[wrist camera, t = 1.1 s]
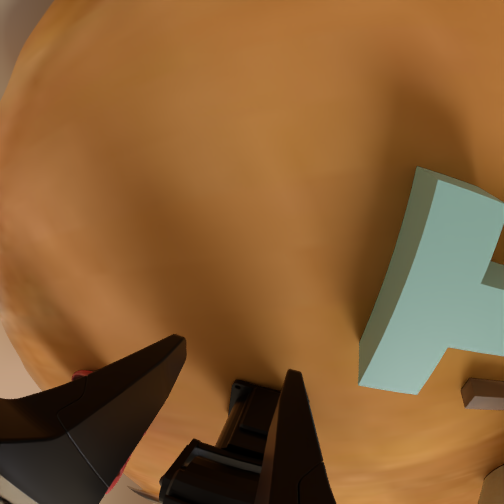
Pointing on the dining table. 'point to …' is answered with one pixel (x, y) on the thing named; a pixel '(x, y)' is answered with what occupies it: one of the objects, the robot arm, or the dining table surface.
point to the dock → (483, 394)
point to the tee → (436, 285)
